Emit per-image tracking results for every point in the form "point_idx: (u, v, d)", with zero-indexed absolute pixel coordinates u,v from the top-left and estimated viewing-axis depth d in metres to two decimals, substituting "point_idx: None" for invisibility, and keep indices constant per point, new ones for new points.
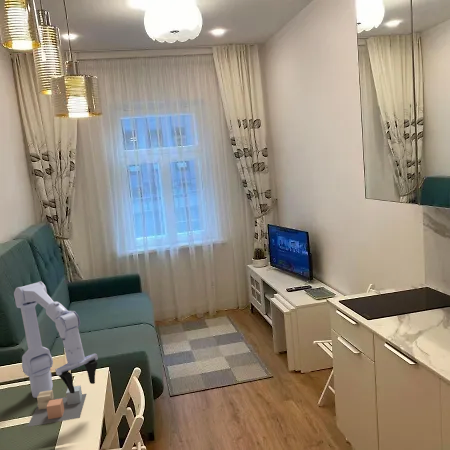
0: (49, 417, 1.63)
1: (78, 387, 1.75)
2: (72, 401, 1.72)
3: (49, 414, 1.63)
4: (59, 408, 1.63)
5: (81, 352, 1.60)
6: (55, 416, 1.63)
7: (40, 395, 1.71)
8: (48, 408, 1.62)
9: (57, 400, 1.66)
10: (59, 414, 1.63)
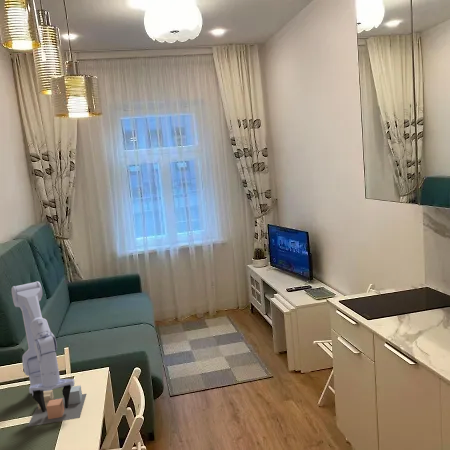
0: (49, 417, 1.63)
1: (78, 387, 1.75)
2: (72, 401, 1.72)
3: (49, 414, 1.63)
4: (59, 408, 1.63)
5: (52, 378, 1.61)
6: (55, 416, 1.63)
7: None
8: (48, 408, 1.62)
9: (57, 400, 1.66)
10: (59, 414, 1.63)
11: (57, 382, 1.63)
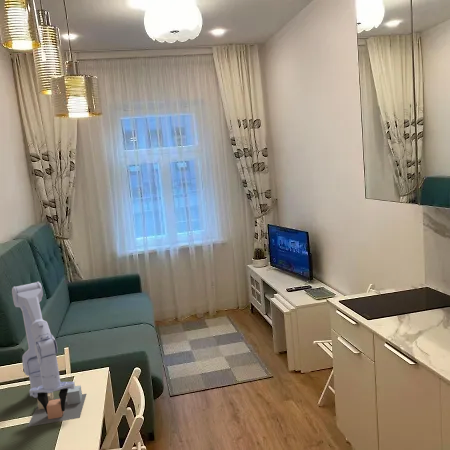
0: (49, 417, 1.63)
1: (78, 387, 1.75)
2: (72, 401, 1.72)
3: (49, 414, 1.63)
4: (59, 408, 1.63)
5: (52, 380, 1.61)
6: (55, 416, 1.63)
7: None
8: (48, 408, 1.62)
9: (57, 400, 1.66)
10: (59, 414, 1.63)
11: (57, 385, 1.63)
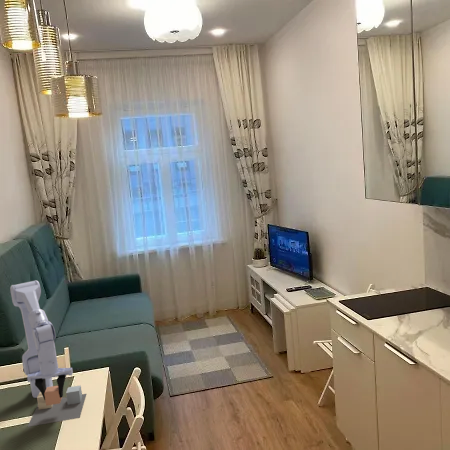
0: (47, 403, 1.62)
1: (78, 387, 1.75)
2: (72, 401, 1.72)
3: (47, 400, 1.62)
4: (57, 394, 1.62)
5: (50, 366, 1.61)
6: (53, 402, 1.62)
7: (40, 395, 1.71)
8: (46, 394, 1.62)
9: (55, 387, 1.65)
10: (57, 401, 1.63)
11: (55, 371, 1.62)
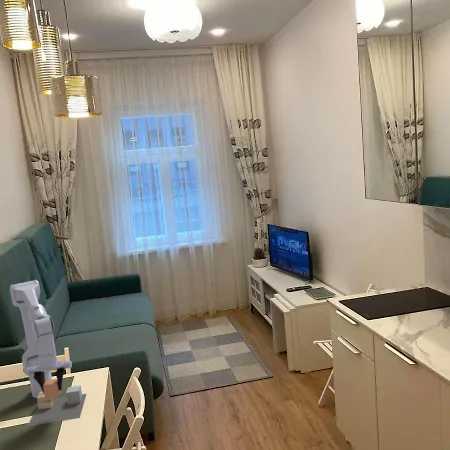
0: (46, 396, 1.62)
1: (78, 387, 1.75)
2: (72, 401, 1.72)
3: (46, 393, 1.62)
4: (56, 387, 1.62)
5: (49, 359, 1.60)
6: (52, 396, 1.62)
7: (40, 395, 1.71)
8: (45, 387, 1.61)
9: (54, 380, 1.65)
10: (56, 394, 1.62)
11: (54, 364, 1.62)
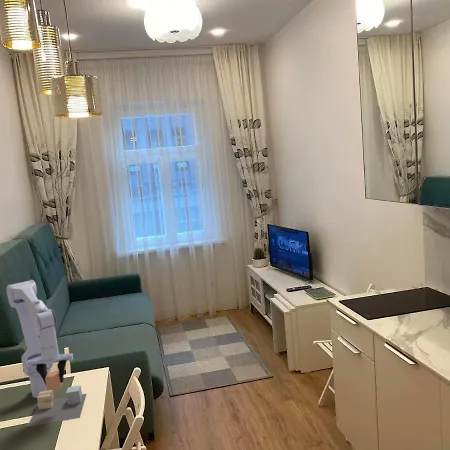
0: (48, 388, 1.66)
1: (78, 387, 1.75)
2: (72, 401, 1.72)
3: (48, 385, 1.65)
4: (58, 380, 1.66)
5: (51, 352, 1.64)
6: (54, 388, 1.66)
7: (40, 395, 1.71)
8: (47, 380, 1.65)
9: (56, 372, 1.69)
10: (57, 386, 1.66)
11: (56, 356, 1.66)
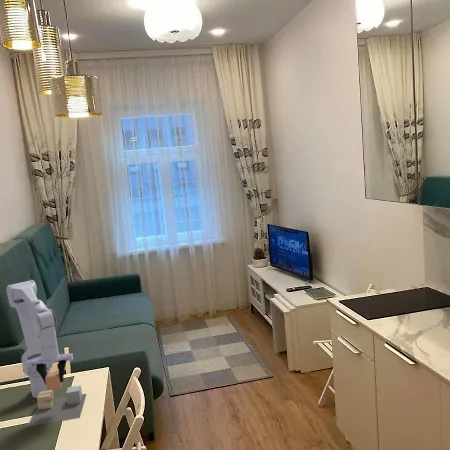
0: (48, 388, 1.66)
1: (78, 387, 1.75)
2: (72, 401, 1.72)
3: (48, 385, 1.65)
4: (58, 380, 1.66)
5: (51, 352, 1.64)
6: (54, 388, 1.66)
7: (40, 395, 1.71)
8: (47, 380, 1.65)
9: (56, 372, 1.69)
10: (57, 386, 1.66)
11: (56, 356, 1.66)
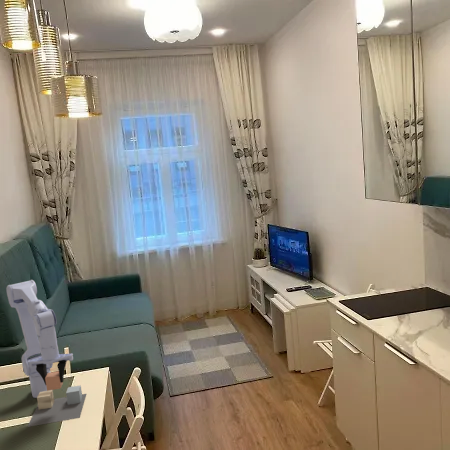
0: (48, 388, 1.66)
1: (78, 387, 1.75)
2: (72, 401, 1.72)
3: (48, 385, 1.65)
4: (58, 380, 1.66)
5: (51, 352, 1.64)
6: (54, 388, 1.66)
7: (40, 395, 1.71)
8: (47, 380, 1.65)
9: (56, 372, 1.69)
10: (57, 386, 1.66)
11: (56, 356, 1.66)
